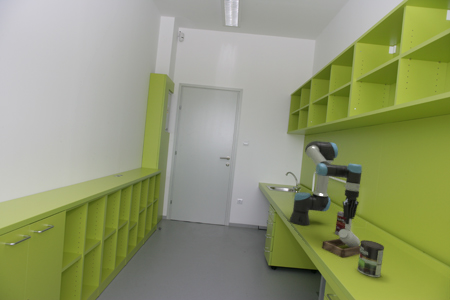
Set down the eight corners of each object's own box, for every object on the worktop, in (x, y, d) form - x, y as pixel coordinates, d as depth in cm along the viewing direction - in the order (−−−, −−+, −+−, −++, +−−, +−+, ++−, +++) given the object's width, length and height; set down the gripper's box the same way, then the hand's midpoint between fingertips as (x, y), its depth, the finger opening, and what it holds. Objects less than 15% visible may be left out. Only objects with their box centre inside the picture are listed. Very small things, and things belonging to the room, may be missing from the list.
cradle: (321, 247, 160) (322, 241, 160) (343, 243, 171) (343, 237, 171) (343, 257, 148) (343, 250, 148) (364, 252, 159) (365, 246, 159)
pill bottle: (355, 251, 161) (344, 242, 154) (344, 244, 168) (333, 234, 160) (363, 241, 162) (352, 231, 154) (352, 233, 169) (341, 224, 161)
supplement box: (334, 234, 190) (337, 211, 189) (338, 233, 193) (340, 211, 192) (346, 238, 183) (349, 215, 183) (350, 237, 186) (352, 214, 186)
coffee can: (365, 276, 128) (368, 247, 127) (353, 266, 138) (356, 239, 137) (385, 278, 128) (389, 249, 128) (372, 267, 139) (375, 240, 138)
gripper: (351, 191, 153) (346, 232, 153) (364, 191, 160) (360, 230, 160) (339, 188, 159) (335, 228, 160) (352, 188, 166) (348, 226, 167)
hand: (347, 229), depth 160 cm, fingers closed
